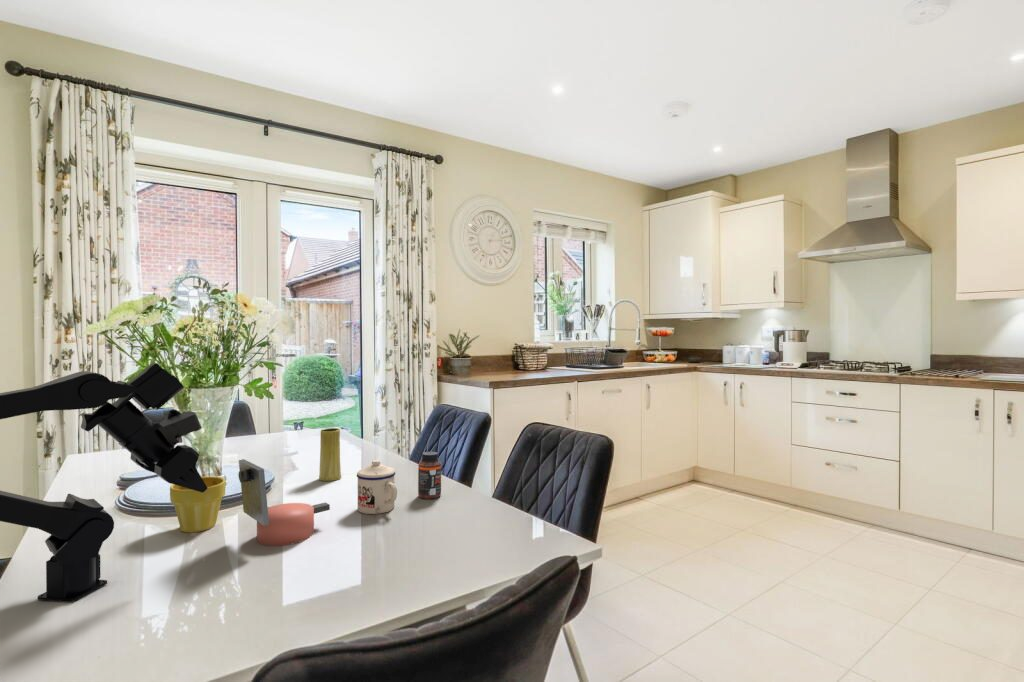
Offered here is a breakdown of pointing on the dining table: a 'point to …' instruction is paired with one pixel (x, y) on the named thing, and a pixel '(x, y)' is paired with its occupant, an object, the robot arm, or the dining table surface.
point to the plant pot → (198, 504)
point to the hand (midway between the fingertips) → (195, 485)
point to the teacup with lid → (376, 488)
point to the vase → (330, 455)
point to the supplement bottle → (429, 476)
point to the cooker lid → (253, 491)
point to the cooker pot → (289, 523)
